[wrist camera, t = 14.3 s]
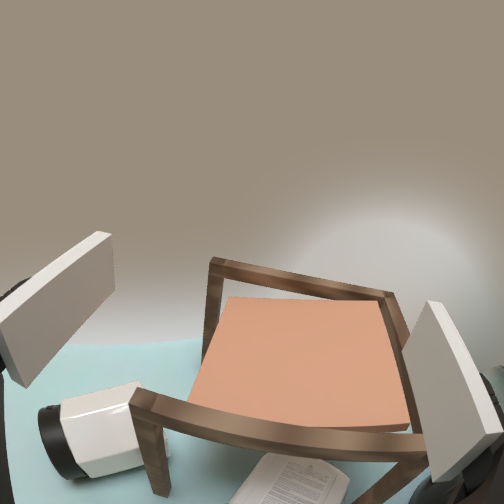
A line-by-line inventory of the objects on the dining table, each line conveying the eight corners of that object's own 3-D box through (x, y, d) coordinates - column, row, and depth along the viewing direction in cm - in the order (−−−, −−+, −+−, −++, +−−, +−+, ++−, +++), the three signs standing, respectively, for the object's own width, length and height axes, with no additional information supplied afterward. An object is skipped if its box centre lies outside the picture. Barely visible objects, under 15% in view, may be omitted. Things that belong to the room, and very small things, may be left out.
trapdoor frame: (346, 392, 41) (393, 292, 34) (350, 524, 23) (446, 449, 15) (203, 365, 43) (213, 256, 35) (153, 493, 24) (128, 403, 17)
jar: (135, 365, 30) (31, 391, 24) (164, 429, 24) (43, 460, 18) (147, 409, 34) (60, 432, 28) (174, 463, 28) (77, 490, 22)
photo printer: (302, 568, 18) (346, 482, 28) (316, 563, 16) (361, 466, 26) (210, 526, 22) (268, 449, 32) (212, 517, 20) (276, 431, 30)
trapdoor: (375, 308, 32) (377, 300, 32) (406, 430, 18) (410, 422, 17) (229, 304, 35) (228, 296, 34) (184, 421, 20) (182, 413, 20)
